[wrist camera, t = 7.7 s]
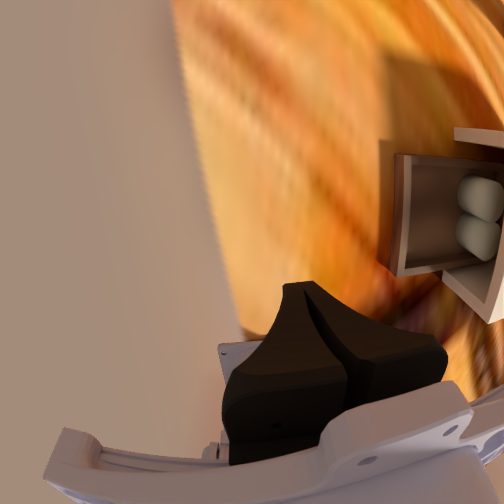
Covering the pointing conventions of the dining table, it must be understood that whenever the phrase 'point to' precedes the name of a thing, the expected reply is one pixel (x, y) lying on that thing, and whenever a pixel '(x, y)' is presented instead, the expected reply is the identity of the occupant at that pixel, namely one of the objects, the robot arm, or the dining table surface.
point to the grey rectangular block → (487, 273)
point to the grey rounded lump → (481, 197)
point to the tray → (432, 212)
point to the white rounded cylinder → (478, 236)
